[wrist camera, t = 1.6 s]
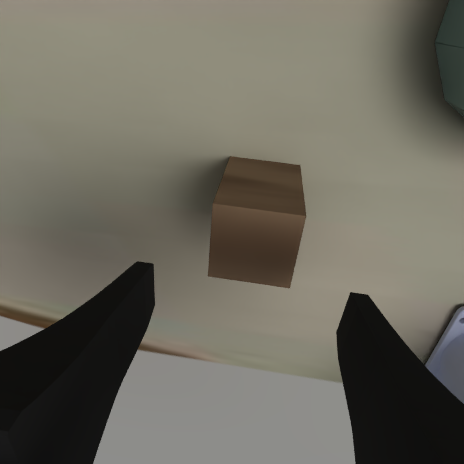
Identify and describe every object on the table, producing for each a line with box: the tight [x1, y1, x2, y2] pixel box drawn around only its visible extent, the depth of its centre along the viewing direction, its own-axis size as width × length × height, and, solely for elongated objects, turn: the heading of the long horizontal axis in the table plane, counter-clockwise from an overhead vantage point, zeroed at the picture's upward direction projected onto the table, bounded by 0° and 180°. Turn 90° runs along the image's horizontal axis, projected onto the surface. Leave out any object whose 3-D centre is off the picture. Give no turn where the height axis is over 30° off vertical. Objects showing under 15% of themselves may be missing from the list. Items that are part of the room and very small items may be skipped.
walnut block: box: [208, 156, 306, 288], centre depth 19 cm, size 4×4×6 cm
